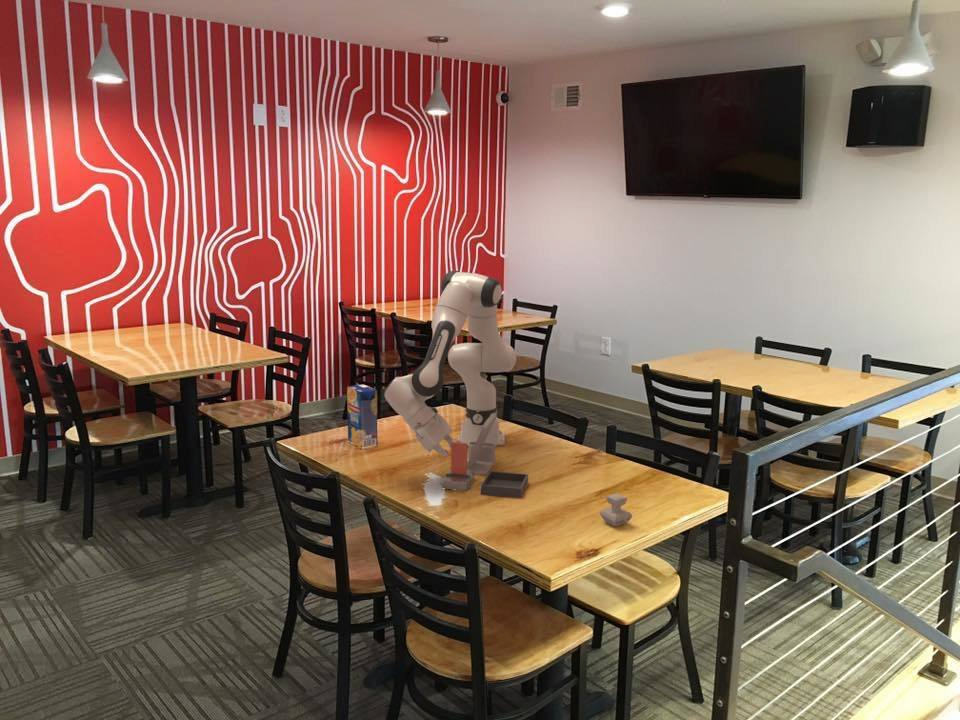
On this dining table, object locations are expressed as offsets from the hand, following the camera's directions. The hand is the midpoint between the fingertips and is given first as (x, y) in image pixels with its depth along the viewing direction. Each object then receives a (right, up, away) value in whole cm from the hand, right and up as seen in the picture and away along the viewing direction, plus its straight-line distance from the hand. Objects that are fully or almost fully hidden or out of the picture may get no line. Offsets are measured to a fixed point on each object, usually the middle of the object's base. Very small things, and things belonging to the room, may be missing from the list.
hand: (450, 451), depth 253 cm
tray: (+18, -12, -2) cm, 21 cm away
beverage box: (-35, -3, +42) cm, 55 cm away
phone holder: (+9, -8, +19) cm, 22 cm away
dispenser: (+3, -11, +2) cm, 11 cm away
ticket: (+3, -11, +2) cm, 11 cm away
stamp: (+49, -18, -29) cm, 59 cm away
